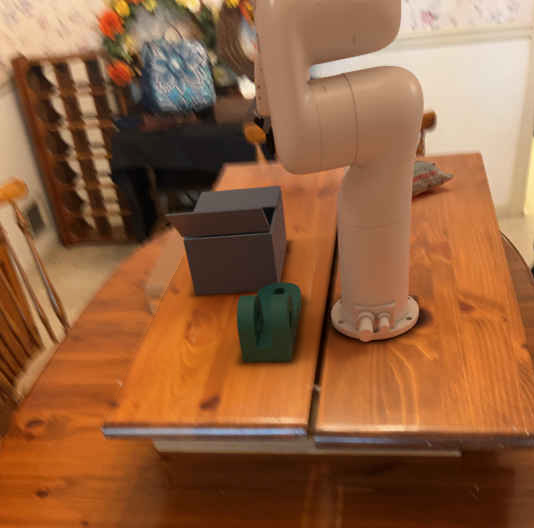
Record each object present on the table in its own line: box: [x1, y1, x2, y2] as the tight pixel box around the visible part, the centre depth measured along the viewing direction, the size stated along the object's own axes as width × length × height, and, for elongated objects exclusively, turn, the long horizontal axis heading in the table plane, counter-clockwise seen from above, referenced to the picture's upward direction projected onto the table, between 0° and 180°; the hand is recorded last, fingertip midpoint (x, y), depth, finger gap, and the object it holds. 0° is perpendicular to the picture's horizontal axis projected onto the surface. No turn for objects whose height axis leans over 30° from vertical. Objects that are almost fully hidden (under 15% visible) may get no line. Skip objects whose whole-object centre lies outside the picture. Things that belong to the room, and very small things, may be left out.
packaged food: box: [412, 160, 454, 198], centre depth 122 cm, size 9×12×5 cm
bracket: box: [236, 281, 303, 363], centre depth 93 cm, size 18×7×8 cm, turn 172°
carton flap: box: [165, 206, 271, 238], centre depth 93 cm, size 8×14×1 cm
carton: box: [182, 185, 288, 296], centre depth 106 cm, size 17×14×10 cm
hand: (288, 150), depth 125 cm, fingers closed on lemon, 5 cm apart
